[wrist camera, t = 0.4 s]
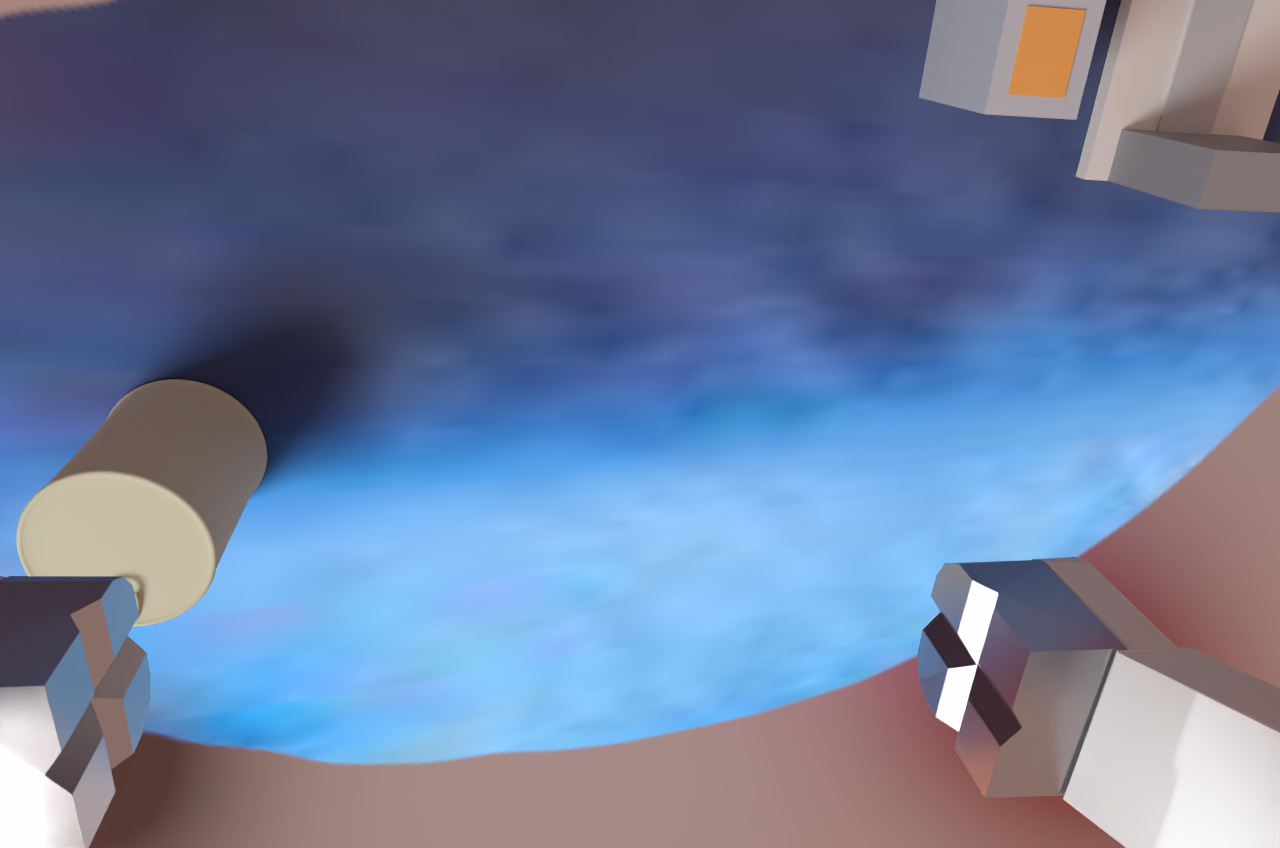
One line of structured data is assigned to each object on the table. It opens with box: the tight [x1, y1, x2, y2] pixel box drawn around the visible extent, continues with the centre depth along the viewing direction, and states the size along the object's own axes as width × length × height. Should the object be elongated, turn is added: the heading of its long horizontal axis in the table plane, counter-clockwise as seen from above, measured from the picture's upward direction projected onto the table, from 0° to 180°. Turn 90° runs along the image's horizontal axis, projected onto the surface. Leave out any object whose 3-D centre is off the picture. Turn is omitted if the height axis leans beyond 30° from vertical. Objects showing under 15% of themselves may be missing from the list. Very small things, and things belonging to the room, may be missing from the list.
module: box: [919, 0, 1106, 120], centre depth 49 cm, size 6×5×8 cm
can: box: [17, 379, 267, 627], centre depth 51 cm, size 9×9×12 cm
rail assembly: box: [1076, 0, 1280, 212], centre depth 50 cm, size 14×11×9 cm
